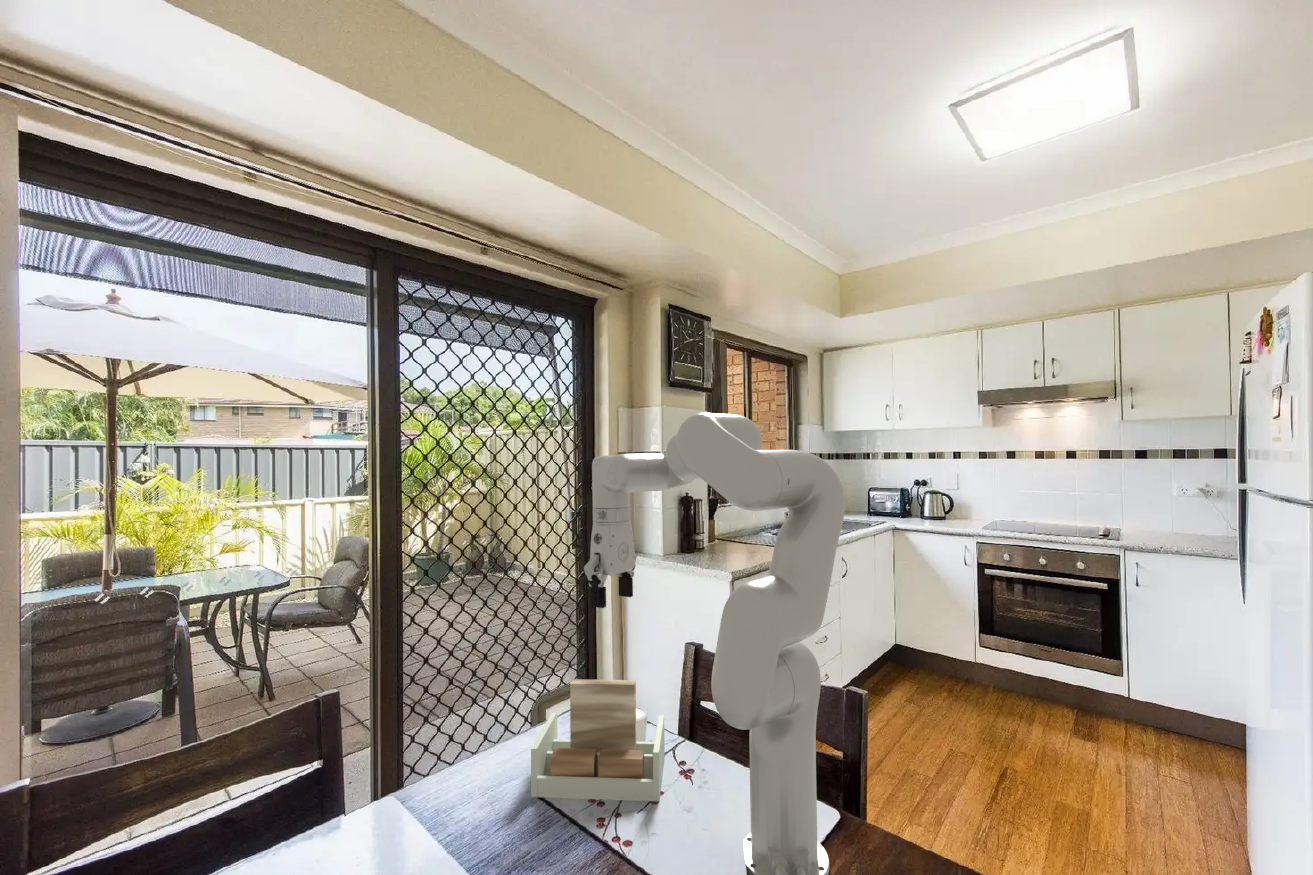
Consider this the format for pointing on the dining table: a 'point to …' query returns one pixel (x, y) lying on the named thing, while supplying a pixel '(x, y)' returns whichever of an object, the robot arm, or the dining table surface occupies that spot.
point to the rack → (597, 786)
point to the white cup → (641, 724)
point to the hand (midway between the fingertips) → (612, 601)
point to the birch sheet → (603, 714)
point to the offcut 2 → (621, 764)
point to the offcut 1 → (574, 762)
